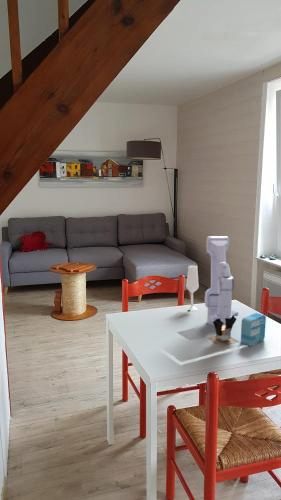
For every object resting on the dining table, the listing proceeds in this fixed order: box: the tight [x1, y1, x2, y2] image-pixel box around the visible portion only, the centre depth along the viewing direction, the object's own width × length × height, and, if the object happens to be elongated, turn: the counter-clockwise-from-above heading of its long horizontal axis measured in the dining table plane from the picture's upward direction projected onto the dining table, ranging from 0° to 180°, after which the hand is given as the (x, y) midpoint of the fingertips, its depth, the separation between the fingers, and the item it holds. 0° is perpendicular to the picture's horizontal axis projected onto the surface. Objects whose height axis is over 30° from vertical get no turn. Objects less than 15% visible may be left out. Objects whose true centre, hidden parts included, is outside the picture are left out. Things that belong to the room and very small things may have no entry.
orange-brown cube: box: [215, 325, 232, 341], centre depth 181 cm, size 5×5×5 cm
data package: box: [240, 312, 267, 347], centre depth 181 cm, size 12×4×12 cm, turn 131°
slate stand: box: [176, 327, 208, 341], centre depth 188 cm, size 10×10×1 cm
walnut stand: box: [207, 335, 241, 347], centre depth 181 cm, size 10×10×1 cm
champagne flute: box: [185, 265, 200, 311], centre depth 222 cm, size 7×7×24 cm
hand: (223, 333), depth 181 cm, fingers open, 5 cm apart
